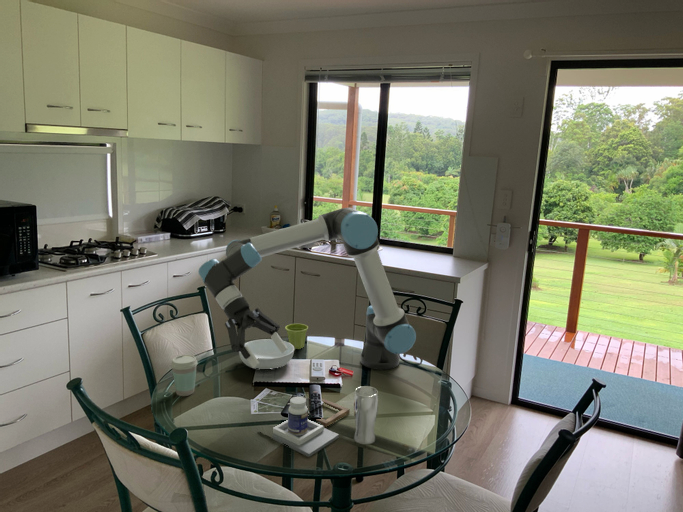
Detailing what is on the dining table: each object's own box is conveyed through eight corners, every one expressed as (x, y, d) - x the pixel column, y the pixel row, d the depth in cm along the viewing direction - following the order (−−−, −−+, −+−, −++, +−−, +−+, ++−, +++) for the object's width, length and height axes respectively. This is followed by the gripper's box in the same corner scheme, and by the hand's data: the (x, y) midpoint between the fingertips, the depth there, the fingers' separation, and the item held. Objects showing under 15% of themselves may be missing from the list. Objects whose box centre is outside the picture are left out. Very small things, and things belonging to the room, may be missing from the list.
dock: (288, 415, 169) (288, 407, 168) (338, 437, 157) (339, 429, 156) (258, 431, 159) (258, 424, 158) (309, 457, 147) (309, 448, 146)
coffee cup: (190, 384, 188) (189, 352, 186) (203, 392, 182) (202, 359, 180) (167, 391, 182) (165, 358, 180) (179, 400, 176) (178, 366, 174)
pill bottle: (304, 437, 154) (305, 405, 152) (285, 435, 155) (285, 403, 153) (309, 427, 160) (310, 396, 158) (291, 425, 161) (291, 394, 159)
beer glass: (351, 432, 160) (352, 385, 156) (374, 432, 160) (376, 385, 157) (353, 445, 153) (355, 396, 150) (378, 445, 153) (380, 396, 150)
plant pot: (280, 347, 224) (280, 327, 222) (295, 341, 231) (295, 321, 229) (297, 353, 218) (297, 332, 216) (312, 346, 226) (312, 326, 224)
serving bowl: (304, 362, 210) (305, 345, 208) (271, 381, 192) (271, 363, 191) (262, 350, 220) (262, 334, 219) (227, 368, 202) (226, 350, 201)
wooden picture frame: (321, 402, 178) (321, 398, 177) (349, 413, 171) (349, 409, 170) (297, 415, 169) (297, 411, 168) (326, 427, 162) (326, 423, 162)
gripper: (253, 300, 182) (289, 351, 178) (197, 320, 162) (236, 379, 157) (265, 287, 179) (302, 339, 174) (209, 306, 158) (250, 366, 153)
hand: (271, 358), depth 166 cm, fingers open, 13 cm apart
